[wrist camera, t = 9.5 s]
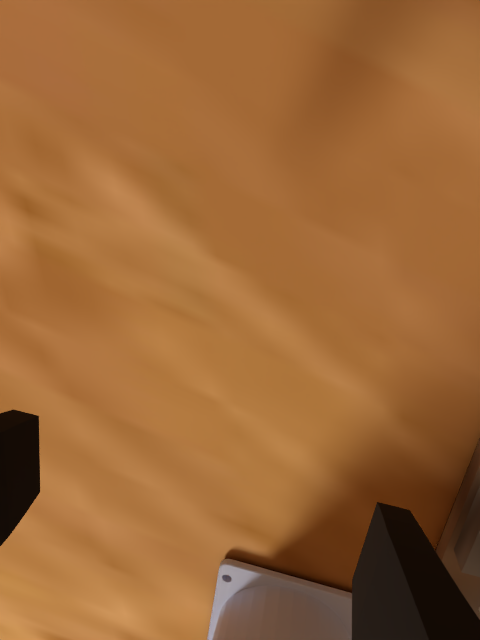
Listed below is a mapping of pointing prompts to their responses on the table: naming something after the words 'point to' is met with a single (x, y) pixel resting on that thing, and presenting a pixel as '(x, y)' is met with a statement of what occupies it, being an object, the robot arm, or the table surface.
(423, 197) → the table surface
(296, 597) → the robot arm
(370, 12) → the table surface
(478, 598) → the picture frame
